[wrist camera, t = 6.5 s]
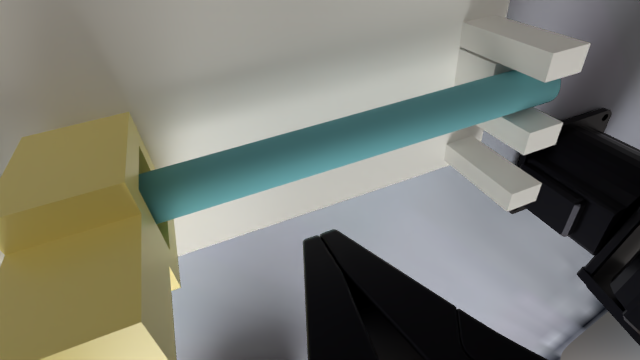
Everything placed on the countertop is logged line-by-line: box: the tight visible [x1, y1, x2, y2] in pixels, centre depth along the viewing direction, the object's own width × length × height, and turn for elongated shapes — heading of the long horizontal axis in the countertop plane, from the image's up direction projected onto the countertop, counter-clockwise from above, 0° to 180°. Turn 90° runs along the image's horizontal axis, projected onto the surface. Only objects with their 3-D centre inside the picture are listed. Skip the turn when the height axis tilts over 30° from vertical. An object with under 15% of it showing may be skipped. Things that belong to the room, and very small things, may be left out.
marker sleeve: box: [0, 112, 181, 360], centre depth 10 cm, size 3×4×7 cm
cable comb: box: [0, 0, 591, 256], centre depth 13 cm, size 23×11×6 cm, turn 95°
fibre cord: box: [0, 70, 561, 266], centre depth 13 cm, size 22×4×5 cm, turn 95°
